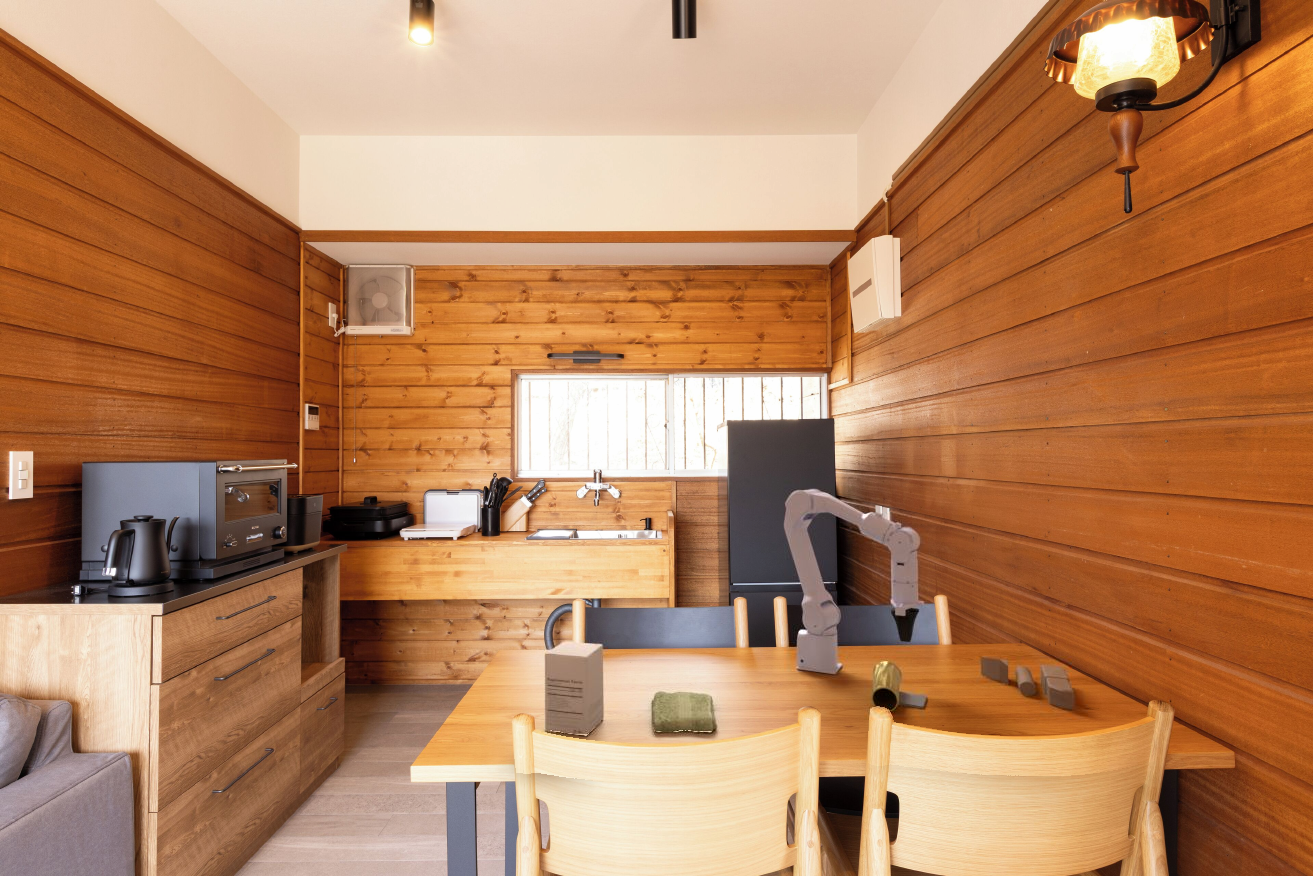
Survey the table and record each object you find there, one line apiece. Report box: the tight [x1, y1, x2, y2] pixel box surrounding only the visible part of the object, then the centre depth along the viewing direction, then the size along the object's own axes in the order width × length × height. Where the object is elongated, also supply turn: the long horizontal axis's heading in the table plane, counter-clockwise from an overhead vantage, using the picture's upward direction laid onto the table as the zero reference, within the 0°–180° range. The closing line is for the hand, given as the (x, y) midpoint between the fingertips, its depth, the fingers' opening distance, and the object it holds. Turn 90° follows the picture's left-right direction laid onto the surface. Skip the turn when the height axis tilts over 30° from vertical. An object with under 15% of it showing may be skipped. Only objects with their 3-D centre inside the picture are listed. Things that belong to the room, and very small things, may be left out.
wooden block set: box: [980, 656, 1075, 711], centre depth 146 cm, size 17×6×18 cm
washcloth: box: [651, 690, 718, 732], centre depth 133 cm, size 13×18×3 cm
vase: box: [870, 660, 903, 712], centre depth 140 cm, size 6×6×14 cm
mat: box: [897, 690, 928, 710], centre depth 141 cm, size 10×7×1 cm
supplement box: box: [544, 641, 605, 735], centre depth 128 cm, size 9×9×15 cm
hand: (905, 641), depth 150 cm, fingers closed
